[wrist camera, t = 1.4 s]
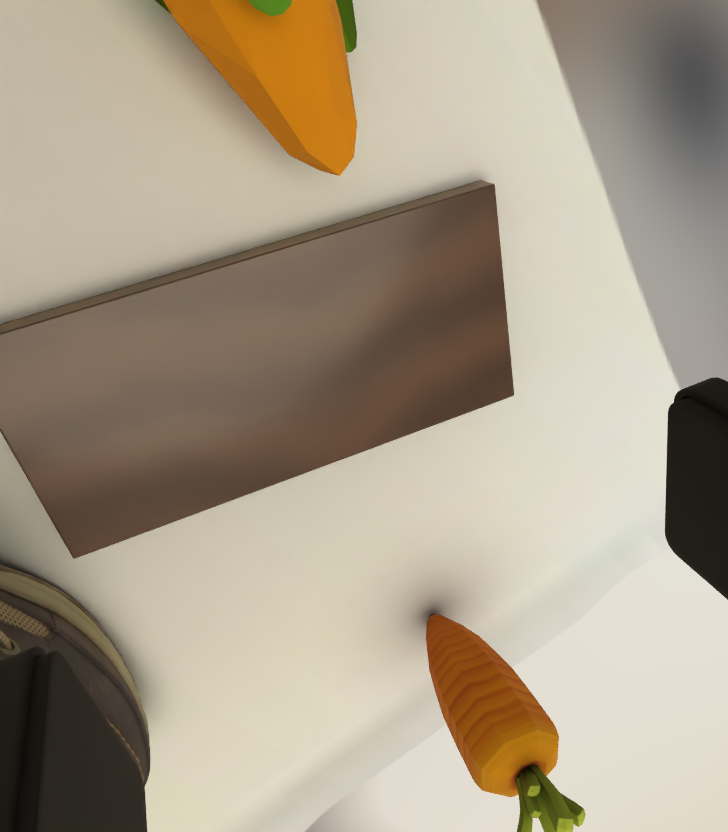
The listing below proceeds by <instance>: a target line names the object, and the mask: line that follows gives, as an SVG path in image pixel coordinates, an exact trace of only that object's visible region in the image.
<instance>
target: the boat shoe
mask: <svg viewBox="0 0 728 832" xmlns="http://www.w3.org/2000/svg"><path fill="white" fill-rule="evenodd" d="M37 646H38V647H40V648H42V649H43V650H44V651H45V652H46V653H47V654H48V653H50V652H53V651H59V652H60V653H61V654H62V655H63V656H64V658H65V659H66V661H67V662H68V664H69V665H70V667H71V668H72V670H73V671H74V672H75V674H76V675H77V677H78V678H79V680H80V681H81V683H82V684H83V686H84V687H85V689H86V690H87V692H88V693H89V695H90V696H91V697H92V699H93V700H94V702H95V703H96V705H97V706H98V708H99V709H100V711H101V712H102V714H103V715H104V717H105V718H106V720H107V721H108V723H109V724H110V725H111V727H112V728H113V730H114V731H115V733H116V734H117V736H118V737H119V739H120V740H121V742H122V743H123V745H124V746H125V748H126V749H127V751H128V752H129V753H130V755H131V756H132V758H133V759H134V761H135V762H136V764H137V766H138V768H139V770H140V773H141V776H142V779H143V783H144V787H145V784H146V782H147V779H148V776H149V772H150V746H149V732H148V723H147V718H146V714H145V712H144V709H143V706H142V703H141V701H140V698H139V695H138V693H137V689H136V686H135V684H134V681H133V679H132V677H131V675H130V673H129V670H128V669H127V667H126V665H125V663H124V661H123V659H122V657H121V656H120V654H119V652H118V650H117V649H116V648H115V646H114V645H113V644H112V642H111V640H110V639H109V638H108V636H107V635H106V633H105V632H104V631H103V629H102V628H101V626H100V625H99V624H98V623H97V622H96V621H95V619H94V618H93V617H92V616H91V615H90V614H89V613H88V612H87V611H86V610H85V609H84V608H83V607H82V606H81V605H80V604H78V603H77V602H76V601H75V600H74V599H73V598H72V597H70V596H69V595H67V594H66V593H64V592H62V591H61V590H59V589H57V588H55V587H54V586H52V585H51V584H49V583H47V582H45V581H43V580H41V579H38V578H36V577H34V576H31V575H29V574H26V573H23V572H20V571H17V570H14V569H12V568H9V567H6V566H3V565H1V564H0V660H2V659H5V658H7V657H10V656H12V655H15V654H17V653H20V652H23V651H25V650H28V649H30V648H33V647H37Z"/></svg>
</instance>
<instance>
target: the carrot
mask: <svg viewBox="0 0 728 832" xmlns="http://www.w3.org/2000/svg"><path fill="white" fill-rule="evenodd" d="M426 641H427V652H428V660H429V669H430V674H431V677H432V681H433V684H434V688H435V692H436V695H437V698H438V701H439V704H440V707H441V711H442V714H443V717H444V719H445V721H446V723H447V726H448V728H449V730H450V732H451V734H452V736H453V739H454V741H455V743H456V745H457V748H458V750H459V752H460V754H461V756H462V758H463V760H464V762H465V764H466V766H467V768H468V770H469V772H470V774H471V776H472V778H473V780H474V781H475V783H476V784H477V785H478V786H479V787H480V788H481V789H482V790H483V791H487V792H490V793H495V794H500V795H504V796H508V797H513V796H516V795H518V794H519V800H520V817H519V825H518V829H517V832H532V817H533V818H538V817H539V820H540V822H541V825H542V827H543V829H544V832H572V831H573V824H575V825H576V826H578V827H579V826H580V825H582V824H583V821H584V818H585V812H584V809H583V808H582V807H581V806H579V805H578V804H577V803H575V802H574V801H572V800H570V799H569V798H567V797H566V796H564V795H562V794H561V793H560V792H559V791H558V790H557V789H556V788H555V786H554V785H553V784H552V783H551V782H550V780H549V779H548V778H547V777H546V776H547V775H548V774H549V773H550V771H551V770H552V769H553V768H554V767H555V766H556V763H557V758H558V757H557V756H558V740H559V736H558V733H557V730H556V727H555V726H554V724H553V722H552V721H551V720H550V718H549V717H548V715H547V714H546V712H545V711H544V710H543V708H542V707H541V706H540V704H539V703H538V701H537V700H536V699H535V697H534V696H533V695H532V693H531V692H530V691H529V689H528V688H527V687H526V685H525V684H524V683H523V682H522V680H521V679H520V678H519V677H518V675H517V674H516V673H515V672H514V670H513V669H512V668H511V667H510V666H509V665H508V664H507V663H506V662H505V661H504V660H503V659H502V658H501V657H500V656H499V655H498V654H497V653H496V652H495V651H494V650H493V649H492V648H491V647H490V646H489V645H488V644H487V643H486V642H485V641H484V640H482V639H481V638H480V637H479V636H478V635H476V634H475V633H473V632H472V631H470V630H469V629H467V628H466V627H464V626H463V625H461V624H459V623H456V622H454V621H452V620H450V619H448V618H446V617H444V616H441V615H439V614H435V615H431V616H430V618H429V619H428V621H427V632H426Z"/></svg>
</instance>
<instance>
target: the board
mask: <svg viewBox="0 0 728 832" xmlns="http://www.w3.org/2000/svg"><path fill="white" fill-rule="evenodd" d="M513 395H514V389H513V378H512V367H511V356H510V346H509V335H508V324H507V313H506V302H505V292H504V281H503V270H502V259H501V249H500V238H499V227H498V216H497V205H496V195H495V185H494V184H492V183H489V182H486V181H483V180H481V181H478V182H474V183H471V184H468V185H464V186H461V187H458V188H454V189H451V190H448V191H444V192H441V193H438V194H434V195H431V196H428V197H424V198H421V199H418V200H414V201H411V202H408V203H404V204H401V205H398V206H394V207H391V208H388V209H384V210H381V211H378V212H374V213H371V214H368V215H364V216H361V217H357V218H354V219H351V220H347V221H344V222H341V223H337V224H334V225H331V226H327V227H324V228H321V229H317V230H314V231H311V232H307V233H304V234H301V235H297V236H294V237H291V238H287V239H284V240H281V241H277V242H274V243H271V244H267V245H264V246H261V247H257V248H254V249H251V250H247V251H244V252H241V253H237V254H234V255H231V256H227V257H224V258H221V259H217V260H214V261H211V262H207V263H204V264H201V265H197V266H194V267H191V268H187V269H184V270H181V271H177V272H174V273H171V274H167V275H164V276H161V277H157V278H154V279H151V280H147V281H144V282H141V283H137V284H134V285H131V286H127V287H124V288H121V289H117V290H114V291H111V292H107V293H104V294H101V295H97V296H94V297H91V298H87V299H84V300H81V301H77V302H74V303H71V304H67V305H64V306H61V307H57V308H54V309H51V310H47V311H44V312H41V313H37V314H34V315H31V316H27V317H24V318H21V319H17V320H14V321H11V322H7V323H4V324H1V325H0V431H1V433H2V435H3V436H4V438H5V440H6V442H7V443H8V445H9V447H10V449H11V450H12V452H13V454H14V455H15V457H16V459H17V461H18V462H19V464H20V466H21V468H22V469H23V471H24V473H25V475H26V476H27V478H28V480H29V482H30V483H31V485H32V487H33V489H34V490H35V492H36V494H37V496H38V497H39V499H40V501H41V503H42V504H43V506H44V508H45V510H46V511H47V513H48V515H49V517H50V518H51V520H52V522H53V524H54V525H55V527H56V529H57V531H58V532H59V534H60V536H61V538H62V539H63V541H64V543H65V545H66V546H67V548H68V550H69V551H70V553H71V555H72V557H73V558H77V557H80V556H83V555H86V554H88V553H91V552H94V551H96V550H99V549H102V548H104V547H107V546H110V545H112V544H115V543H118V542H121V541H123V540H126V539H129V538H131V537H134V536H137V535H139V534H142V533H145V532H147V531H150V530H153V529H156V528H158V527H161V526H164V525H166V524H169V523H172V522H174V521H177V520H180V519H182V518H185V517H188V516H191V515H193V514H196V513H199V512H201V511H204V510H207V509H209V508H212V507H215V506H218V505H220V504H223V503H226V502H228V501H231V500H234V499H236V498H239V497H242V496H244V495H247V494H250V493H253V492H255V491H258V490H261V489H263V488H266V487H269V486H271V485H274V484H277V483H279V482H282V481H285V480H288V479H290V478H293V477H296V476H298V475H301V474H304V473H306V472H309V471H312V470H314V469H317V468H320V467H323V466H325V465H328V464H331V463H333V462H336V461H339V460H341V459H344V458H347V457H350V456H352V455H355V454H358V453H360V452H363V451H366V450H368V449H371V448H374V447H376V446H379V445H382V444H385V443H387V442H390V441H393V440H395V439H398V438H401V437H403V436H406V435H409V434H411V433H414V432H417V431H420V430H422V429H425V428H428V427H430V426H433V425H436V424H438V423H441V422H444V421H446V420H449V419H452V418H455V417H457V416H460V415H463V414H465V413H468V412H471V411H473V410H476V409H479V408H482V407H484V406H487V405H490V404H492V403H495V402H498V401H500V400H503V399H506V398H508V397H511V396H513Z"/></svg>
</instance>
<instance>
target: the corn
mask: <svg viewBox="0 0 728 832" xmlns="http://www.w3.org/2000/svg"><path fill="white" fill-rule="evenodd" d="M156 1H157V2H158V3H159V4H160V5H162V6H163V7H164V8H165V9H166V10H167V11H168V12H170V13H171V14H172V15H173V17H174V18H175V20H176V21H177V23H178V24H179V25H180V26H181V27H182V29H183V30H184V31H185V32H186V33H187V35H188V36H189V37H190V38H191V39H192V40H193V42H194V43H195V44H196V45H197V46H198V48H199V49H200V50H201V51H202V52H203V53H204V55H205V56H206V57H207V58H208V59H209V61H210V62H211V63H212V64H213V65H214V66H215V68H216V69H217V70H218V71H219V72H220V74H221V75H222V76H223V77H224V78H225V79H226V81H227V82H228V83H229V84H230V85H231V87H232V88H233V89H234V90H235V91H236V92H237V94H238V95H239V96H240V97H241V98H242V100H243V101H244V102H245V103H246V104H247V105H248V107H249V108H250V109H251V110H252V111H253V113H254V114H255V115H256V116H257V117H258V119H259V120H260V121H261V122H262V123H263V124H264V126H265V127H266V128H267V129H268V130H269V132H270V133H271V134H272V135H273V136H274V137H275V139H276V140H277V141H278V142H279V143H280V145H281V146H282V147H283V148H284V149H285V150H286V152H287V153H288V154H289V155H291V156H293V157H295V158H297V159H299V160H301V161H303V162H305V163H307V164H309V165H310V166H312V167H314V168H316V169H318V170H320V171H324V172H328V173H331V174H335V175H339V176H340V175H341V173H342V172H343V171H344V169H345V168H346V167H347V165H348V164H349V163H350V161H351V160H352V159H353V157H354V149H355V139H356V129H357V121H356V115H355V108H354V102H353V95H352V88H351V82H350V75H349V69H348V62H347V55H346V52H352V51H353V50H354V49H355V48H356V38H357V32H356V25H355V17H354V10H353V3H352V0H156Z"/></svg>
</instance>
